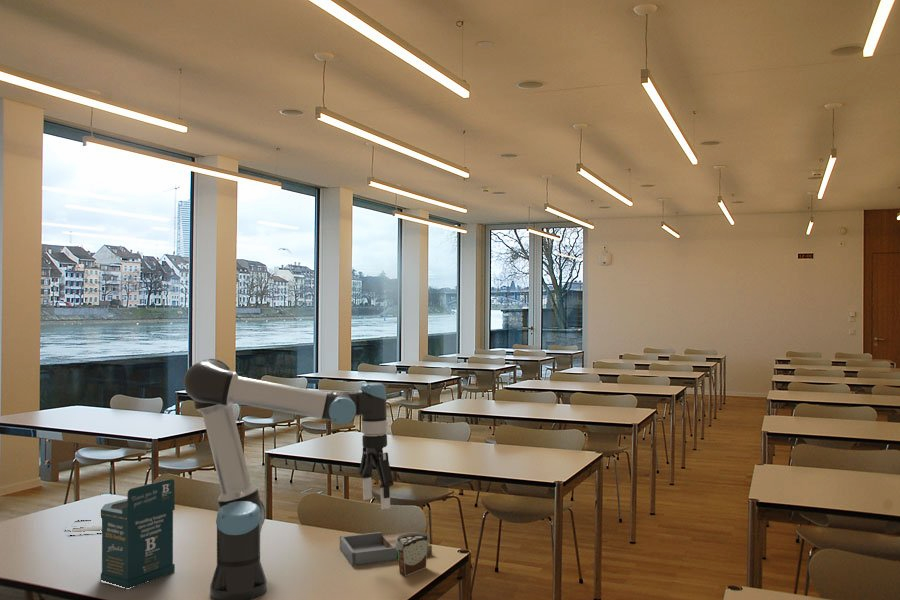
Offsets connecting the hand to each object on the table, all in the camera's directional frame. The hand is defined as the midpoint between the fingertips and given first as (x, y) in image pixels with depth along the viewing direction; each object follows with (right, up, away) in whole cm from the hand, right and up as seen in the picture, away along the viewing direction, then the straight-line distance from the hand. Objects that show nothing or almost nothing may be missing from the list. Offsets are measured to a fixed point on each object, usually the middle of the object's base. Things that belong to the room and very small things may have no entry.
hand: (376, 503), depth 223 cm
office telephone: (-107, -21, +44) cm, 117 cm away
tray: (-4, -19, +10) cm, 22 cm away
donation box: (-71, -19, -8) cm, 74 cm away
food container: (+10, -19, -4) cm, 22 cm away
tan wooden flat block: (+8, -19, +15) cm, 25 cm away
